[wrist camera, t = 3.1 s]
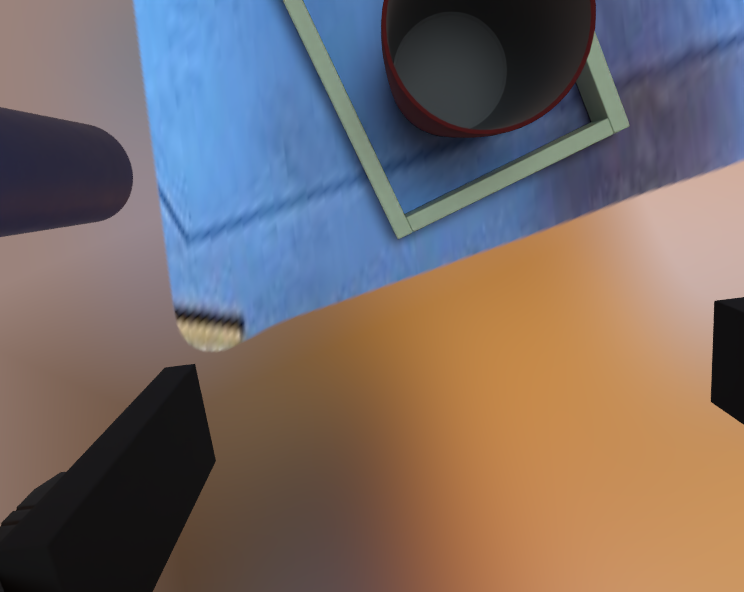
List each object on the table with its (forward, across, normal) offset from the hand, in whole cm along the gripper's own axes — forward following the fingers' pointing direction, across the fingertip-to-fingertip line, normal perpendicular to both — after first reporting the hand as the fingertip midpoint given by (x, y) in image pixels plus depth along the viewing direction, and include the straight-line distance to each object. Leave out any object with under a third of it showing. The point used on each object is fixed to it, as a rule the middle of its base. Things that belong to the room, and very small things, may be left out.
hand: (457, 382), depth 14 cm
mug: (+23, +4, +12) cm, 26 cm away
